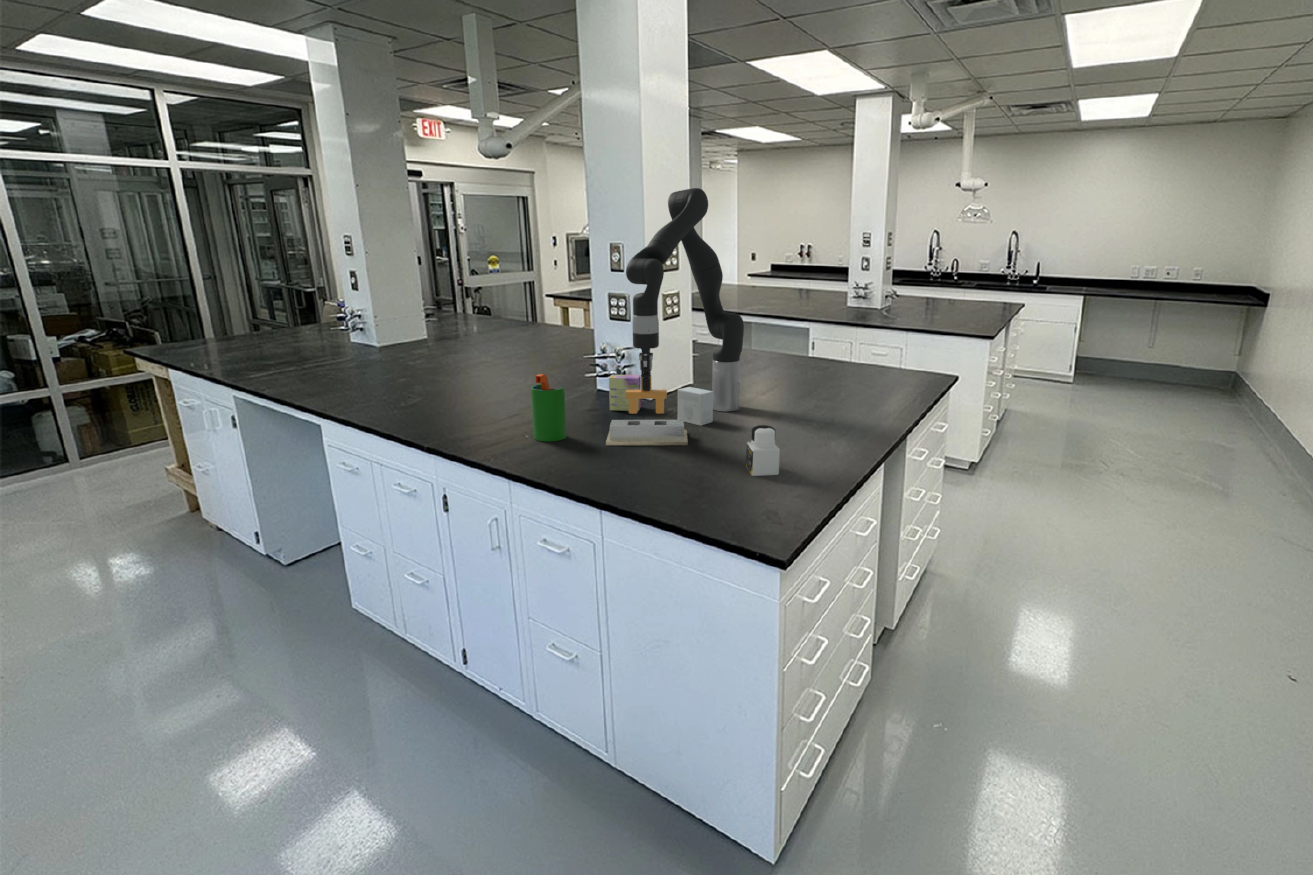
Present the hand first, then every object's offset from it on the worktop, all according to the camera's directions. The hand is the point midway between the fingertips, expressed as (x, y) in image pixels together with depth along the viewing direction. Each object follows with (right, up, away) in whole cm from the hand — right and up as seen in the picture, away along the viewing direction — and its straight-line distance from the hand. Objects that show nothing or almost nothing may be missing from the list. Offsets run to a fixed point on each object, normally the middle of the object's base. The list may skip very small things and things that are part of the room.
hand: (646, 389), depth 192 cm
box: (-8, -4, +37) cm, 39 cm away
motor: (-30, -14, +7) cm, 34 cm away
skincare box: (+16, -9, +22) cm, 29 cm away
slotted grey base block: (0, -15, +5) cm, 15 cm away
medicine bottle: (+31, -23, -22) cm, 44 cm away
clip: (0, -7, +2) cm, 7 cm away
